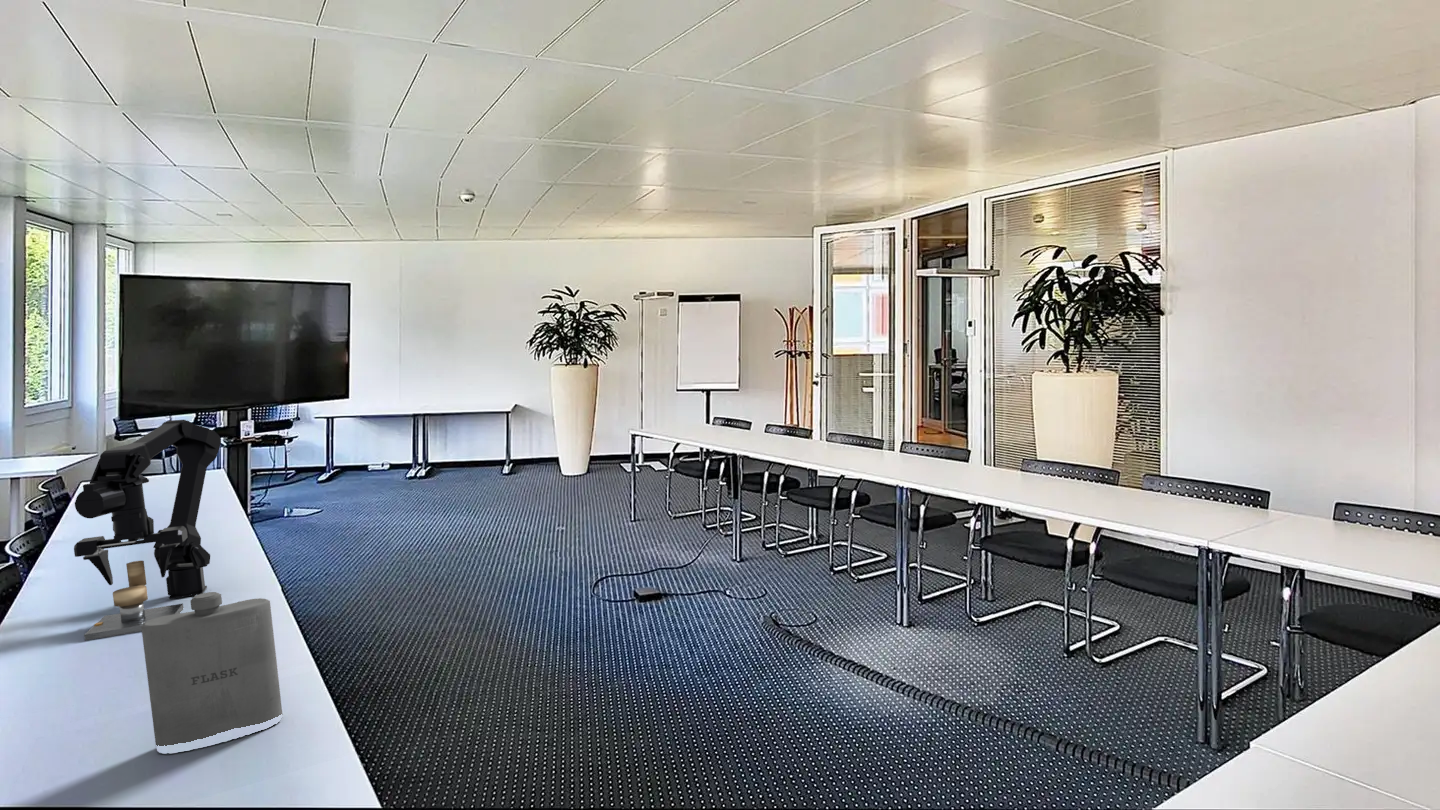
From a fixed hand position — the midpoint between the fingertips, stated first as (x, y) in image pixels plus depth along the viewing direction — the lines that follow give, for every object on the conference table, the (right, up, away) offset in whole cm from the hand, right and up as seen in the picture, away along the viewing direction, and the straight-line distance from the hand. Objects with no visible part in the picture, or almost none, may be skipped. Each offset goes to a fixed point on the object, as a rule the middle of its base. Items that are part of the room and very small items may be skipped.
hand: (137, 580), depth 171 cm
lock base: (+3, -8, -5) cm, 10 cm away
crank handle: (+2, -3, -3) cm, 5 cm away
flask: (+54, -9, -59) cm, 81 cm away
